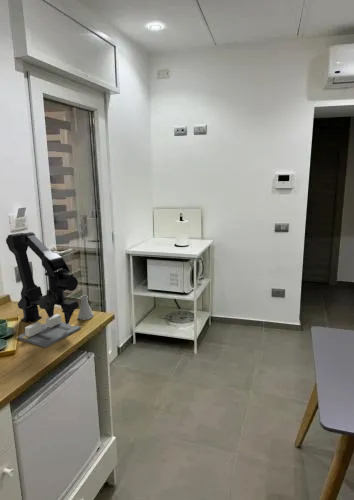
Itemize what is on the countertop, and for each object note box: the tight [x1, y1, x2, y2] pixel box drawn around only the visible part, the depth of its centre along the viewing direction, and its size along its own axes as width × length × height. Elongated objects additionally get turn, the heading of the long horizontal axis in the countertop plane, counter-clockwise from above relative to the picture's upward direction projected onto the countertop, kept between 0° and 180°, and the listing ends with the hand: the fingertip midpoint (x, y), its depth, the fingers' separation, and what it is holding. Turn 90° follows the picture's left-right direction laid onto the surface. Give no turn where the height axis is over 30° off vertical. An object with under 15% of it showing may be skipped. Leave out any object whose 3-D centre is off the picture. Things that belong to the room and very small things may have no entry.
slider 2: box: [45, 313, 62, 328], centre depth 155 cm, size 2×6×4 cm, turn 151°
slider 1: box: [24, 321, 42, 337], centre depth 146 cm, size 2×6×4 cm, turn 151°
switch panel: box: [17, 321, 82, 349], centre depth 149 cm, size 16×19×1 cm
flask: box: [77, 295, 94, 321], centre depth 165 cm, size 7×7×10 cm
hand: (59, 321), depth 153 cm, fingers open, 9 cm apart
